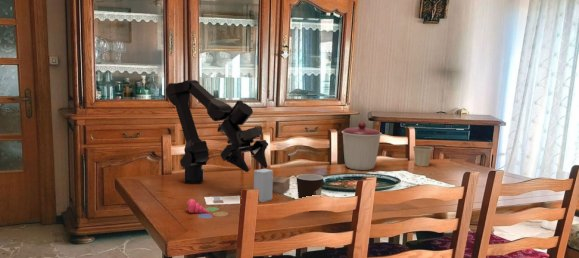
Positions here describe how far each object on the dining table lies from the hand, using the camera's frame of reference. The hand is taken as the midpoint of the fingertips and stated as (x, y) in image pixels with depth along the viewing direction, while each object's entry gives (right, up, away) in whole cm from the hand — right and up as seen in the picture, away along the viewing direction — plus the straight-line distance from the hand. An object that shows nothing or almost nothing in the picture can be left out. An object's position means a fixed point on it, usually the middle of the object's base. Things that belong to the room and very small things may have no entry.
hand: (257, 169), depth 167 cm
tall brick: (+2, -10, 0) cm, 10 cm away
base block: (+6, -9, +13) cm, 17 cm away
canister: (+43, -4, +57) cm, 72 cm away
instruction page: (-11, -10, -3) cm, 15 cm away
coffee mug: (+18, -12, -7) cm, 23 cm away
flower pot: (+74, -4, +69) cm, 101 cm away
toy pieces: (-14, -12, -17) cm, 25 cm away
